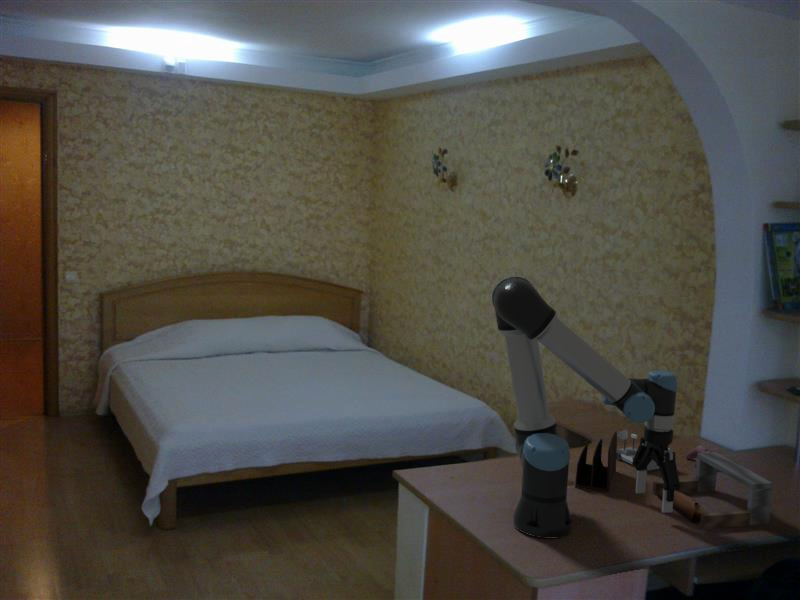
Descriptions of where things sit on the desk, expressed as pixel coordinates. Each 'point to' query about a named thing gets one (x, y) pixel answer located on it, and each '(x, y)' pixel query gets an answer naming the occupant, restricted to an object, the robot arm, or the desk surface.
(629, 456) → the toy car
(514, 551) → the desk surface
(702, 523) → the walled lane
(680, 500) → the sunglasses case
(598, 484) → the letter holder
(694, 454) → the video game controller
